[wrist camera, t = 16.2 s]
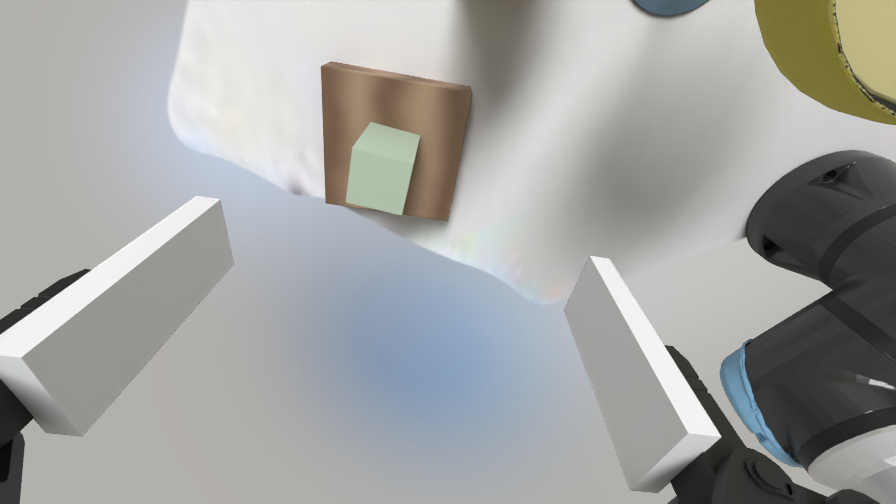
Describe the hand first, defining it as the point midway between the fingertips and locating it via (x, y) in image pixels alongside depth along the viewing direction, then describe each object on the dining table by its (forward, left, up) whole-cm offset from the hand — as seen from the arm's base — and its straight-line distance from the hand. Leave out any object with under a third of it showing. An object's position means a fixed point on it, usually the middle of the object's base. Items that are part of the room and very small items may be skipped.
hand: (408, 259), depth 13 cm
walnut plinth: (+3, +6, -29) cm, 30 cm away
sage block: (+3, +5, -25) cm, 26 cm away
